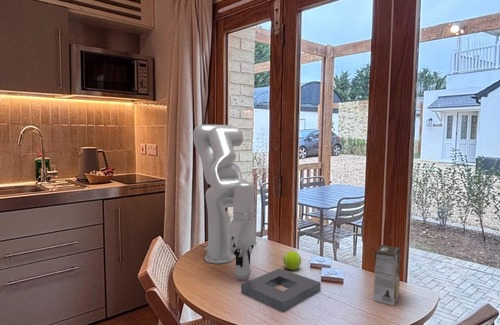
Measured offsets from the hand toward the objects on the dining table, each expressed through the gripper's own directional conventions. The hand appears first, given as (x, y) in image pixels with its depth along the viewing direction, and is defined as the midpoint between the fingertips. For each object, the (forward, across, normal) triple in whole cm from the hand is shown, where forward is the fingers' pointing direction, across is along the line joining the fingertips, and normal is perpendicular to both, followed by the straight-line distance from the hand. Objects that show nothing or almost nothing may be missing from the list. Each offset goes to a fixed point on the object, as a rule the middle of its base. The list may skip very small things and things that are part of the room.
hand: (242, 264), depth 126 cm
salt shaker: (+5, 0, 0) cm, 5 cm away
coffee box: (+5, -23, +44) cm, 50 cm away
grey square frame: (+5, -2, +17) cm, 18 cm away
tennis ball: (+6, -21, +7) cm, 22 cm away
